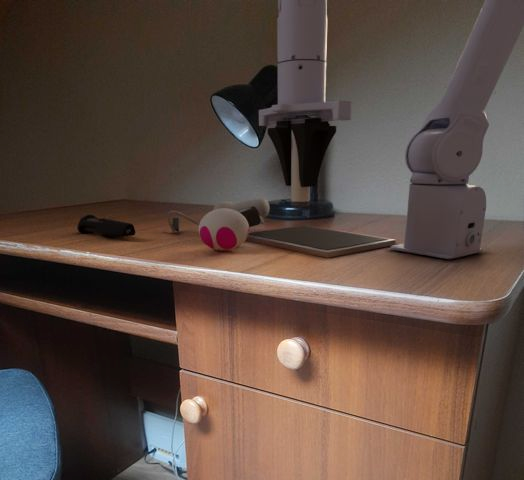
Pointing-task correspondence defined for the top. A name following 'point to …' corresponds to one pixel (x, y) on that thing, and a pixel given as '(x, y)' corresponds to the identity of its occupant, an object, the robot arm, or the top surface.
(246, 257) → the top surface
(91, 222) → the electric trimmer
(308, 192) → the beige cylinder
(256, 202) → the white corded device
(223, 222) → the stress ball
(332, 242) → the tablet
